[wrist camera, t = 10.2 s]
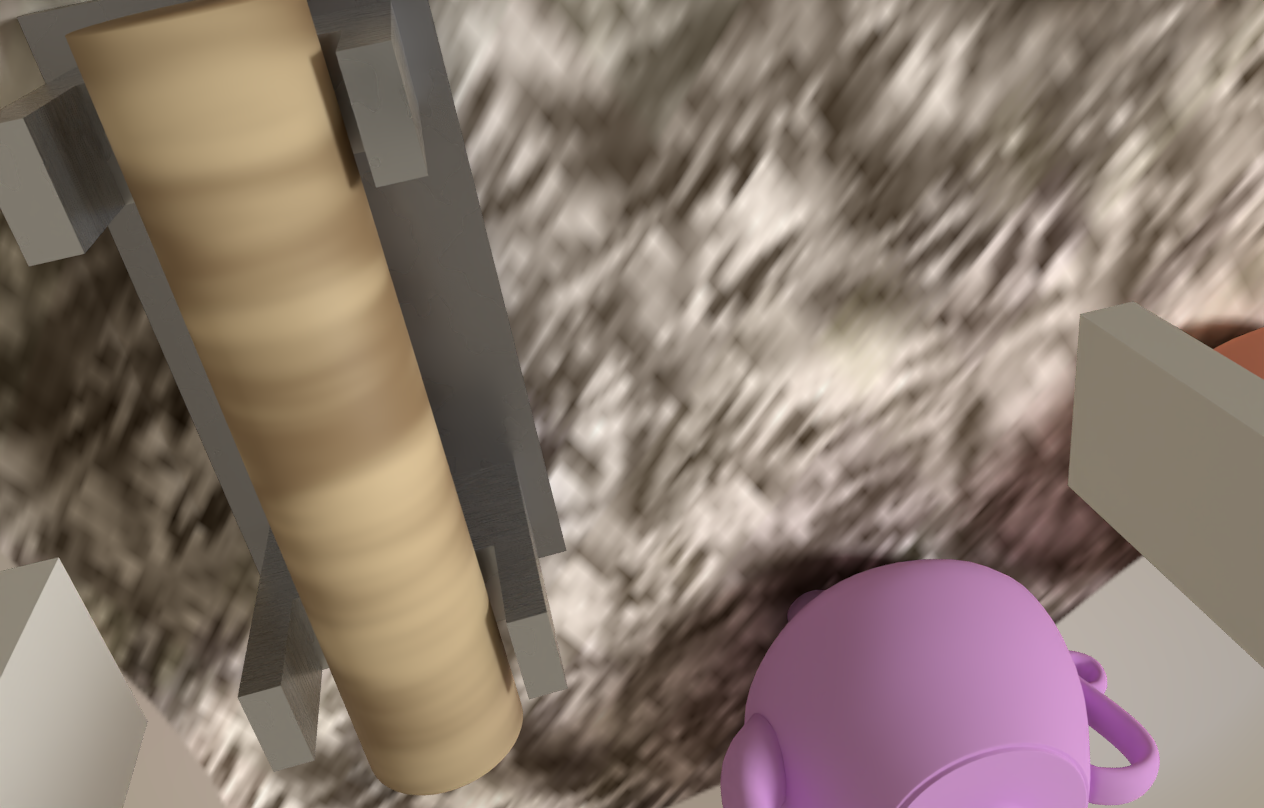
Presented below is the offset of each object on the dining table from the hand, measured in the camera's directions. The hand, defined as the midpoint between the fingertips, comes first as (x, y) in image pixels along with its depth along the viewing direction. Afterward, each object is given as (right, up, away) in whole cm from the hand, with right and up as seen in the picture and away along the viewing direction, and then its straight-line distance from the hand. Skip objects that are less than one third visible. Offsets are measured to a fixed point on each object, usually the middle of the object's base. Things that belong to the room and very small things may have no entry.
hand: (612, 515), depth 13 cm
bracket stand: (-10, +4, +21) cm, 24 cm away
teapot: (+10, -10, +34) cm, 37 cm away
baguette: (-9, +1, +16) cm, 18 cm away
